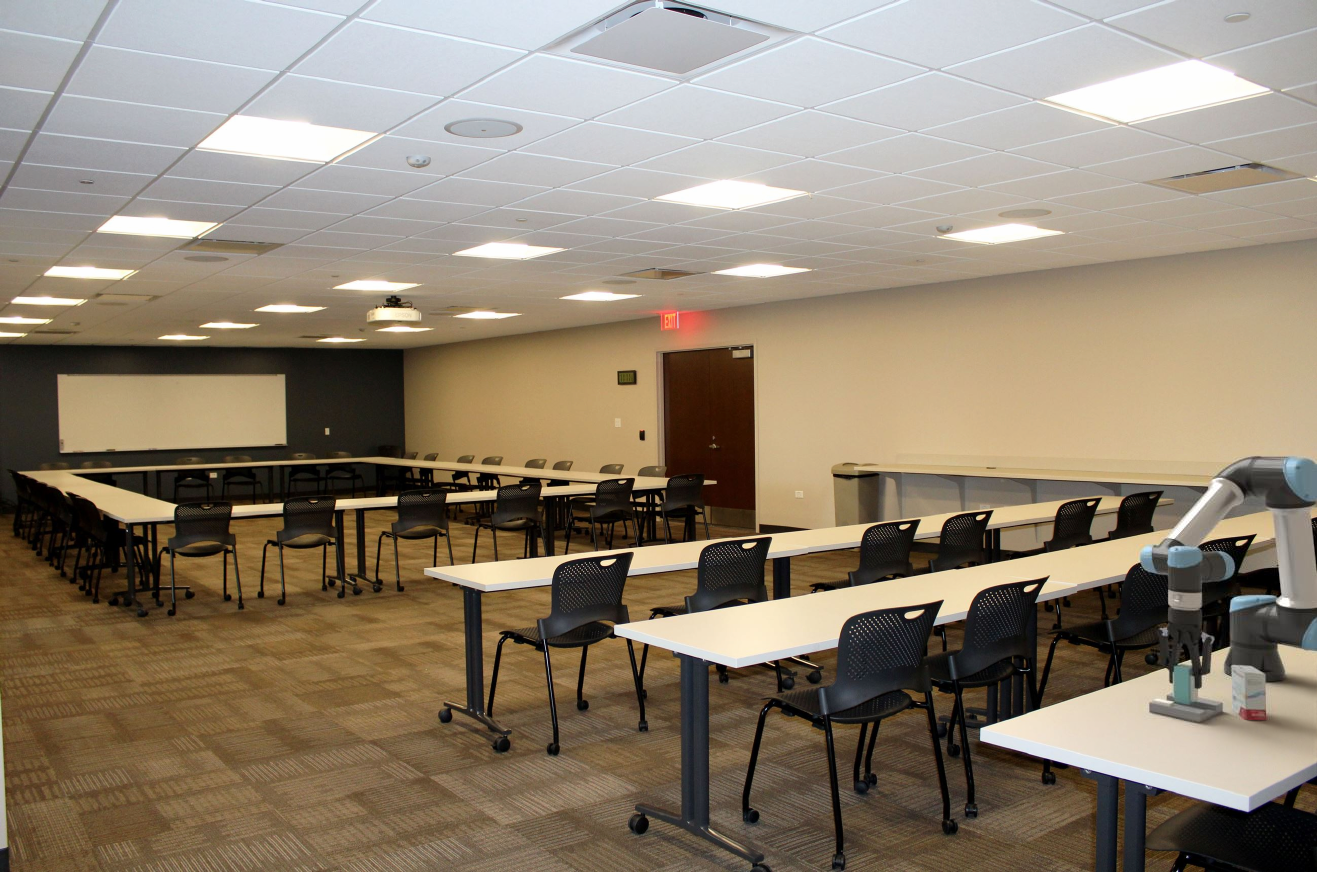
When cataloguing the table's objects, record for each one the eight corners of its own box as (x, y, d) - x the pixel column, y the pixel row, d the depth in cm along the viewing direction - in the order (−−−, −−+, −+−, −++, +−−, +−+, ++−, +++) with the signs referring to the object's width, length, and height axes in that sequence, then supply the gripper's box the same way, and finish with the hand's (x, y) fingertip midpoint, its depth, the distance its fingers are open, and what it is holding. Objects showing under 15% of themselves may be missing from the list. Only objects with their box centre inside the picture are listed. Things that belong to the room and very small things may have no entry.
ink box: (1267, 721, 229) (1266, 673, 229) (1245, 720, 230) (1245, 672, 230) (1252, 710, 238) (1252, 664, 238) (1231, 709, 239) (1231, 664, 239)
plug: (1181, 698, 240) (1181, 663, 240) (1196, 701, 237) (1196, 666, 237) (1174, 701, 237) (1173, 666, 237) (1188, 704, 234) (1188, 669, 234)
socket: (1173, 701, 246) (1173, 689, 246) (1222, 711, 237) (1222, 699, 237) (1149, 711, 238) (1149, 699, 238) (1199, 723, 228) (1199, 710, 228)
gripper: (1144, 604, 241) (1145, 694, 241) (1214, 614, 228) (1214, 708, 228) (1157, 600, 246) (1158, 688, 246) (1226, 610, 233) (1227, 703, 233)
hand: (1185, 698), depth 237 cm, fingers closed on plug, 3 cm apart
